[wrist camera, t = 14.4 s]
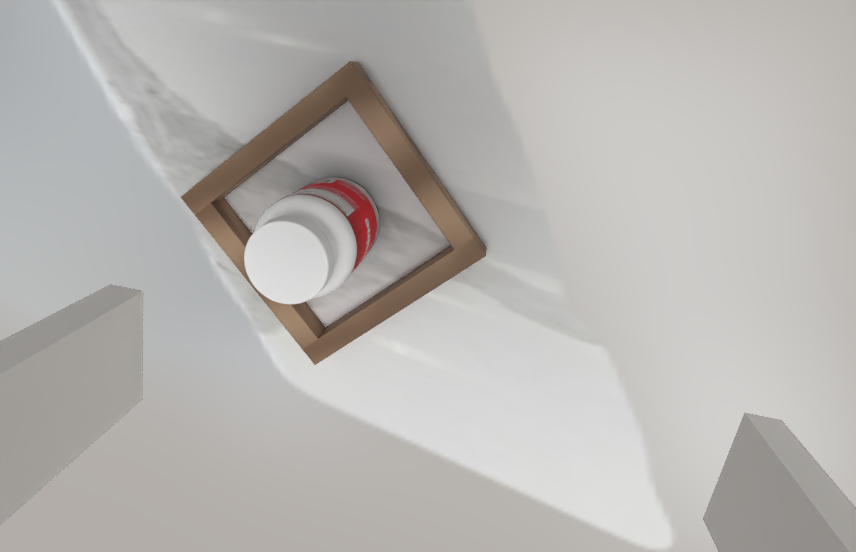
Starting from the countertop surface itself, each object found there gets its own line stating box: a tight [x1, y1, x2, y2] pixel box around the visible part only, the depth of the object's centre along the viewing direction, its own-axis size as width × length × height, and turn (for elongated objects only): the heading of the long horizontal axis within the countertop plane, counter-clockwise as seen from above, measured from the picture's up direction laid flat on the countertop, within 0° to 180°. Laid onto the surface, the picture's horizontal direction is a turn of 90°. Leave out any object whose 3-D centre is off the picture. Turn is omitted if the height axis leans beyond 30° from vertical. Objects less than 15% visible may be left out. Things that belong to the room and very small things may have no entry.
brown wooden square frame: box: [181, 61, 486, 365], centre depth 41 cm, size 15×15×2 cm
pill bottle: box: [244, 177, 379, 304], centre depth 37 cm, size 6×6×11 cm
